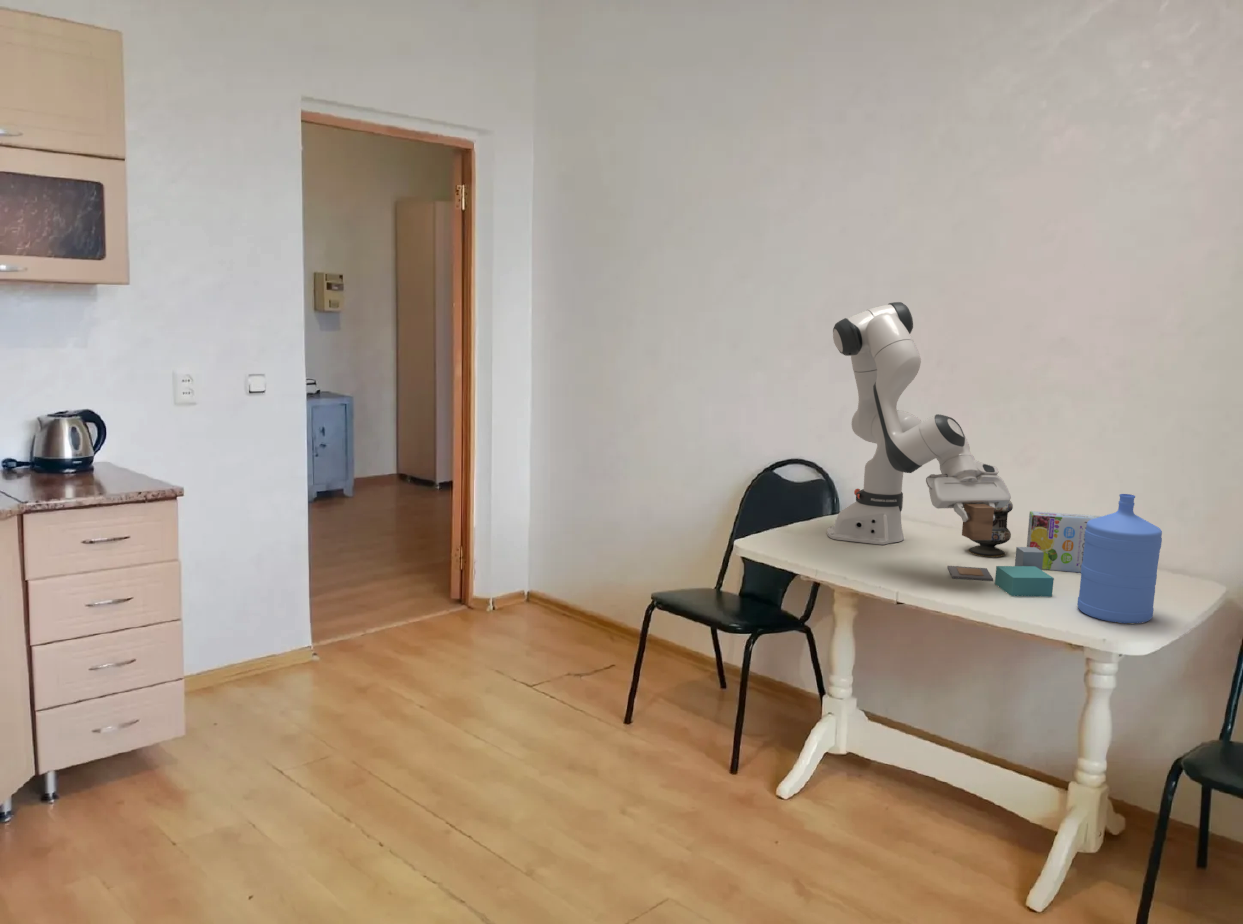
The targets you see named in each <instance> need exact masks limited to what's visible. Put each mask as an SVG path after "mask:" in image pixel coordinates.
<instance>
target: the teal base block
mask: <svg viewBox="0 0 1243 924" xmlns="http://www.w3.org/2000/svg"><path fill="white" fill-rule="evenodd" d="M994 578H995V579H994V584H995V586H997V587H998V586H999V587H998V588H999V589H1001V590H1002V591H1004V592H1005V593H1006V592H1007V593H1006V594H1008V595H1009V596H1010V597H1044V598H1045V597H1048V598H1049V597H1050V598H1051V597H1053V589H1054V581H1055V578H1054V577H1053V576H1052V575H1050V574H1048V573H1047V572H1045V571H1043V569H1042V570H1040V569H1039V568H1037V567H1036V566H1015V565H996V566H995V576H994Z"/></svg>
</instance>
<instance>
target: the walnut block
mask: <svg viewBox="0 0 1243 924" xmlns="http://www.w3.org/2000/svg"><path fill="white" fill-rule="evenodd" d="M963 509H964V510H965V511H966V513H970V516H971V520H970V522H963V521H962V528H961V536H963V537H965V538H967V539H969V540H970V539H972V540H991V538H992V527H993V517H994V507H991V506H988V505H985V504H964V508H963ZM972 540H971V541H972Z"/></svg>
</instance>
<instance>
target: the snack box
mask: <svg viewBox="0 0 1243 924" xmlns="http://www.w3.org/2000/svg"><path fill="white" fill-rule="evenodd" d="M1102 516H1103V515H1093V514H1080V513H1079V514H1078V513H1062V512H1050V511H1049V512H1048V511H1047V512H1046V511H1032V510H1031V511H1029V516H1028V528H1027V539H1026V547H1036V548H1038V549H1039V550H1041V551H1042V552H1044V555H1043V565H1042V570H1046V571H1047V570H1048V571H1049V570H1050V571H1056V572H1057V571H1059V572H1060V571H1061V572H1070V573H1081V565H1082V562H1083V553H1084V544H1085V539H1084V538H1085V529H1086V525H1087V522H1088V521H1089V520H1091V519H1095V518H1098V517H1102Z"/></svg>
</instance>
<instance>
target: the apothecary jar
mask: <svg viewBox="0 0 1243 924" xmlns="http://www.w3.org/2000/svg"><path fill="white" fill-rule="evenodd" d="M1013 509H1014V504H1013V502H1012V500H1010V501H1009V503H1008V504H1007V505H1006V506H1005V507H1003V508H994V516H995V520H994V521H993V527H992V538H991V540H972V539H969V540H970V541H972V542H974V543H976V544H977V545H975V546H971V547H969V548H968V550H967V551H968V553H970V554H972V555H975V556H978V557H985V558H986V557H987V558H1001V557H1005V555H1006V552H1005V551H1003V549H1000V547H999V548H998V547H996V546H998V545H1003V544H1005V543H1007V542H1009V541H1010V540H1011V537H1012V533H1011V530H1010V529H1009V528H1008V517H1009V513H1010V512H1012V510H1013Z"/></svg>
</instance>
